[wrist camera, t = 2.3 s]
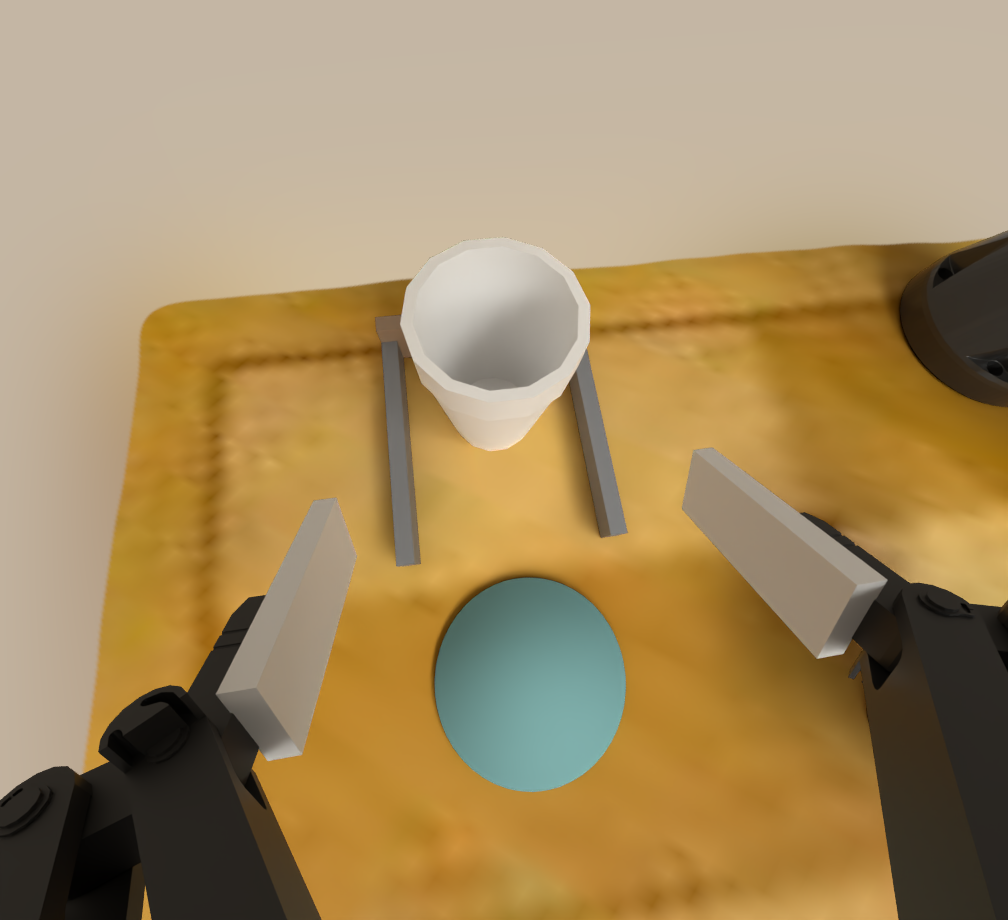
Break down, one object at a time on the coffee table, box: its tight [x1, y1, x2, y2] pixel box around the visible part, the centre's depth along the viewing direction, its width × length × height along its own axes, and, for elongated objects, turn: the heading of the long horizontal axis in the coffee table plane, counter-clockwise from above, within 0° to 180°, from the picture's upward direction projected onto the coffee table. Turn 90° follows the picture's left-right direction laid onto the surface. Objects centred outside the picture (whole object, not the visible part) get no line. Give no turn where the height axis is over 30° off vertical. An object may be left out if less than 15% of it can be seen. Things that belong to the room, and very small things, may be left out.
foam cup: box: [400, 237, 590, 451], centre depth 25 cm, size 10×9×13 cm
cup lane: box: [375, 315, 628, 566], centre depth 29 cm, size 16×18×4 cm
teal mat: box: [435, 577, 626, 792], centre depth 26 cm, size 13×13×1 cm
